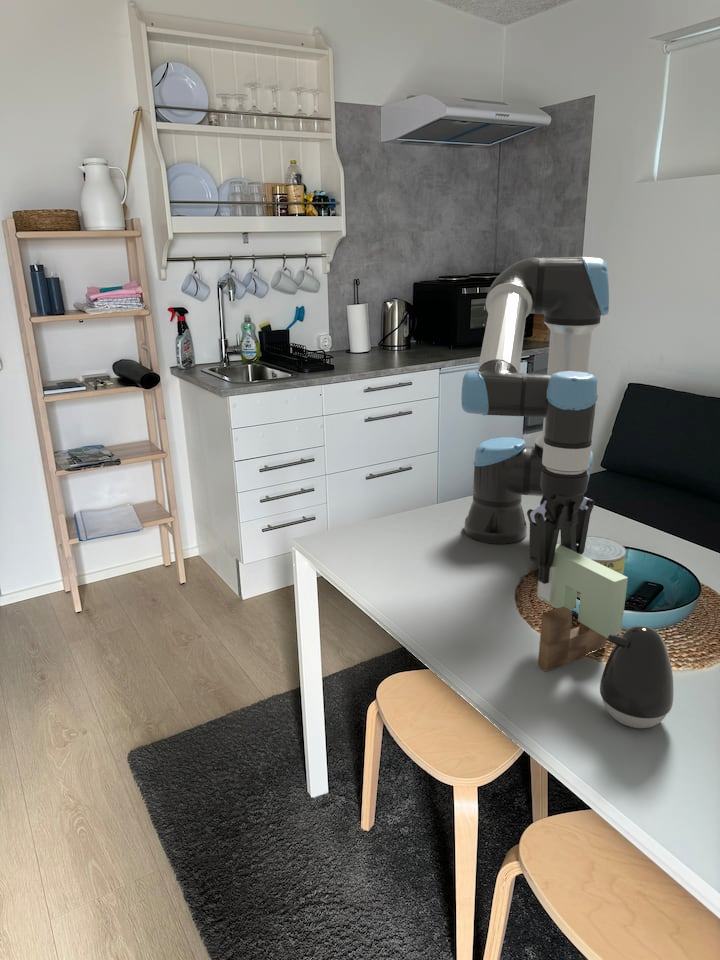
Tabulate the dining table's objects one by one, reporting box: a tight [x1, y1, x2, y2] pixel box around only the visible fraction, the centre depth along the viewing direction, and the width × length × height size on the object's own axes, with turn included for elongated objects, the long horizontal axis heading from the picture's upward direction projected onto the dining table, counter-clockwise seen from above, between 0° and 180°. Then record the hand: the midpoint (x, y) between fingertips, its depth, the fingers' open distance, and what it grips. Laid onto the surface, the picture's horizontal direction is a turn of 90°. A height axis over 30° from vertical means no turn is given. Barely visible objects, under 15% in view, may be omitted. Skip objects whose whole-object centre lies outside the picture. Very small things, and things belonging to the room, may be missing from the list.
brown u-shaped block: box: [537, 606, 607, 673], centre depth 118 cm, size 14×2×10 cm, turn 120°
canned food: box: [576, 535, 627, 598], centre depth 135 cm, size 11×11×12 cm
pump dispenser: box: [599, 625, 675, 729], centre depth 102 cm, size 10×10×15 cm
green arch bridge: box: [536, 542, 629, 639], centre depth 115 cm, size 3×16×10 cm, turn 30°
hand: (553, 595), depth 121 cm, fingers closed on green arch bridge, 3 cm apart
